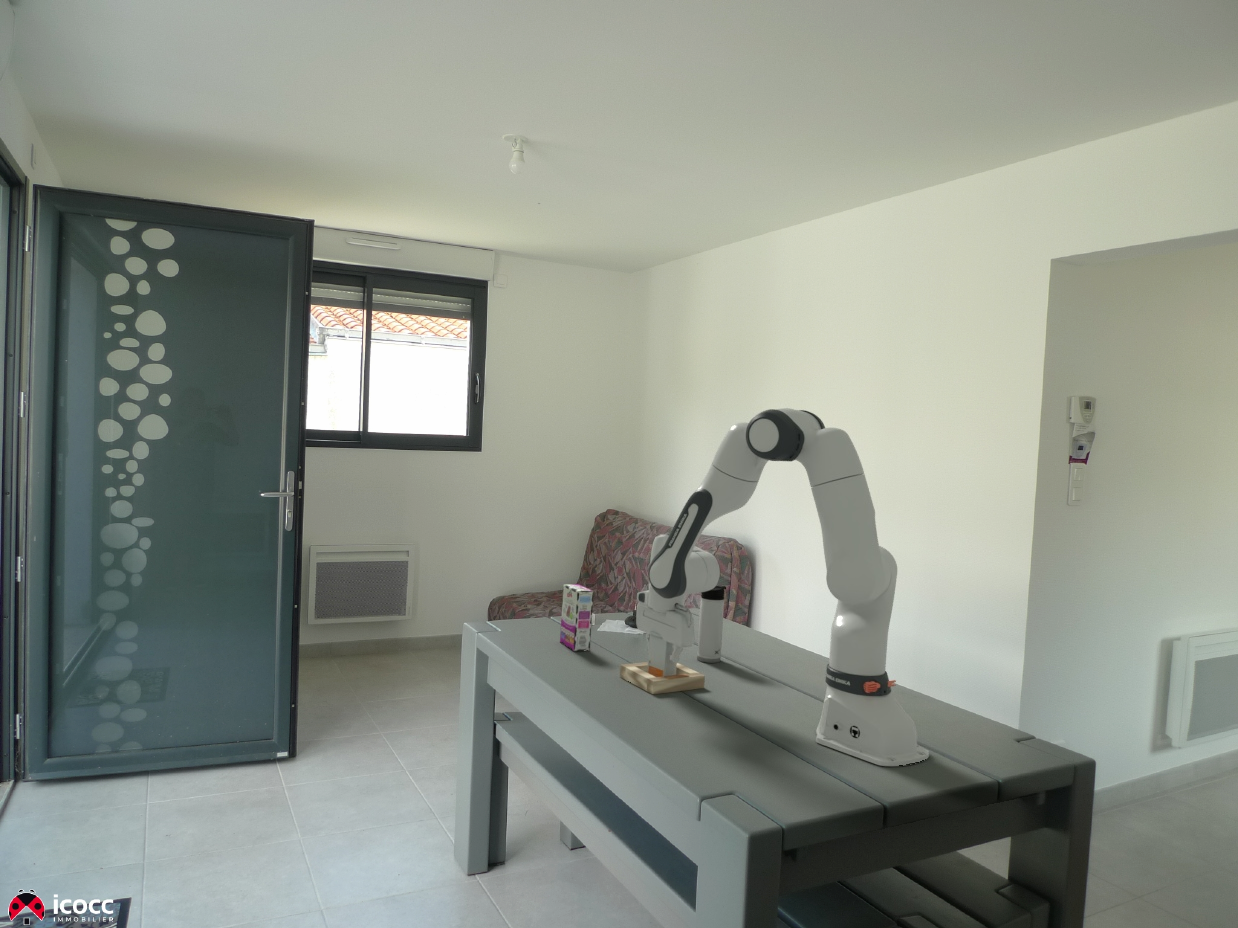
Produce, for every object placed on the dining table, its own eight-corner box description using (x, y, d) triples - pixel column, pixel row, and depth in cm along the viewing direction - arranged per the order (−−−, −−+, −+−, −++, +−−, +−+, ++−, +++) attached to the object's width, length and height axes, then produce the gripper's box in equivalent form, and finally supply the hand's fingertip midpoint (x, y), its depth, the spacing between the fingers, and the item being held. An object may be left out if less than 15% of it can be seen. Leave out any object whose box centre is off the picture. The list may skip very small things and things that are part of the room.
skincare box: (645, 680, 206) (648, 631, 205) (658, 677, 209) (661, 629, 208) (663, 686, 201) (666, 636, 201) (676, 684, 204) (679, 634, 204)
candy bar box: (591, 651, 231) (594, 590, 230) (574, 652, 228) (577, 591, 228) (575, 641, 241) (579, 583, 240) (559, 641, 239) (562, 583, 238)
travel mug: (722, 663, 225) (727, 588, 224) (697, 662, 225) (702, 587, 225) (720, 657, 231) (725, 584, 231) (696, 656, 231) (700, 582, 231)
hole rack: (704, 687, 202) (704, 674, 202) (652, 694, 195) (653, 680, 195) (669, 671, 215) (670, 658, 215) (619, 676, 207) (620, 663, 207)
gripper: (703, 607, 197) (699, 667, 197) (654, 591, 214) (651, 645, 215) (680, 609, 194) (676, 669, 194) (633, 592, 211) (629, 647, 212)
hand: (662, 656), depth 205 cm, fingers open, 8 cm apart
